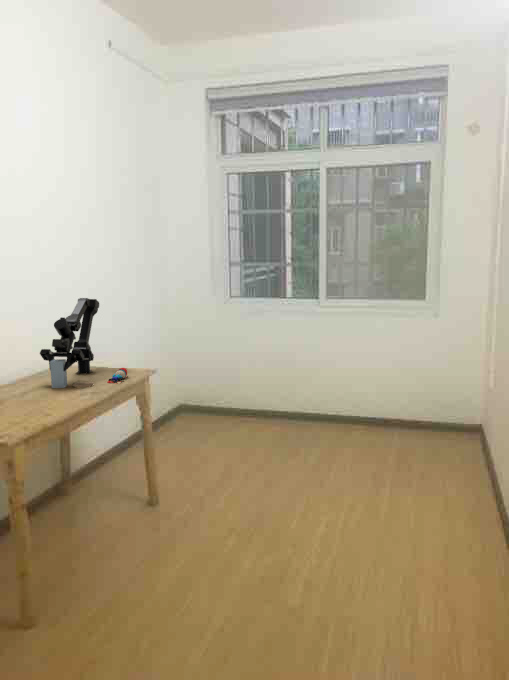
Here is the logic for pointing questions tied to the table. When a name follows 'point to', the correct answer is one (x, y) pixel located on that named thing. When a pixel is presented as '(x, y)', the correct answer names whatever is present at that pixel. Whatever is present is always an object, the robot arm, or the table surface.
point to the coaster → (83, 384)
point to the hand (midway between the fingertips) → (57, 370)
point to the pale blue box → (58, 373)
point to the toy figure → (118, 375)
